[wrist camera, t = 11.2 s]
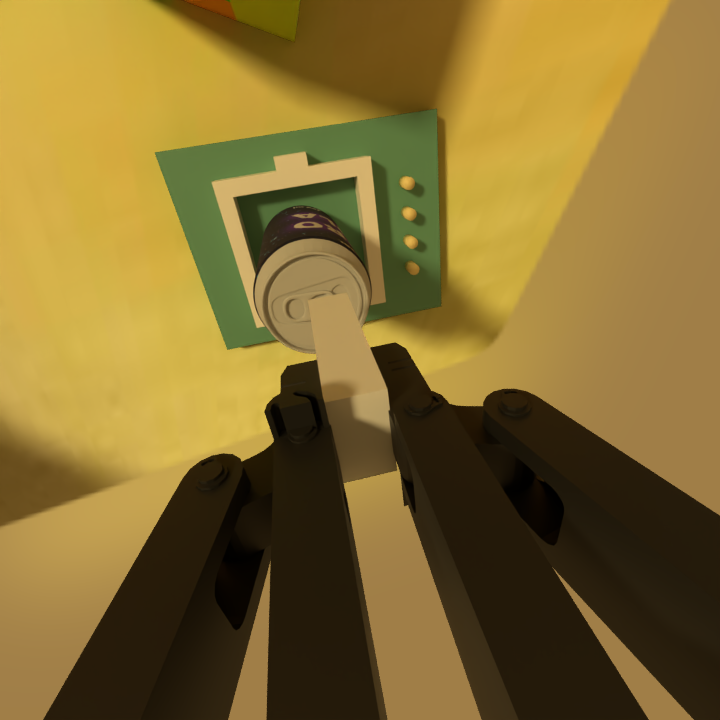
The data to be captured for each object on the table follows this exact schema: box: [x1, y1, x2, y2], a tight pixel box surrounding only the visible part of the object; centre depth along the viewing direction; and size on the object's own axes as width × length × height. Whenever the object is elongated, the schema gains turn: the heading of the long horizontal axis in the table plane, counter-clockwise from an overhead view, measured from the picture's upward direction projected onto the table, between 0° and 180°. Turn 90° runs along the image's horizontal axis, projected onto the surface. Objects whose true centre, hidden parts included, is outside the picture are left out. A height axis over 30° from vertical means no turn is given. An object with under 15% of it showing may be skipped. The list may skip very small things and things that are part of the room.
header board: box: [155, 109, 441, 350], centre depth 27 cm, size 18×14×3 cm
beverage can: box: [253, 205, 372, 354], centre depth 22 cm, size 6×6×12 cm
